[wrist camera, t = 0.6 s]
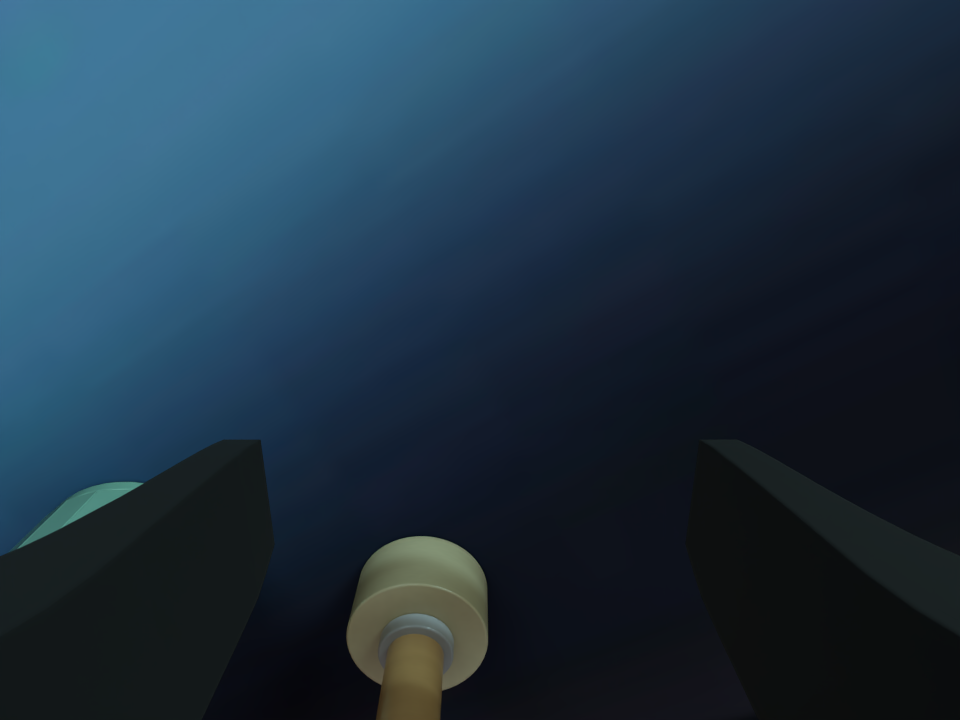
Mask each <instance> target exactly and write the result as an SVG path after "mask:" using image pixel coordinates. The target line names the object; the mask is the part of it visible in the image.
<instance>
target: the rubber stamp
mask: <svg viewBox="0 0 960 720" xmlns="http://www.w3.org/2000/svg"><path fill="white" fill-rule="evenodd" d="M346 638H347V645H348V649H349V652H350V654H351V657H352V659H353V660H354V662H355V664H356V665H357V666H358V667H359V669H360V670H361V671H362V672H363V673H364V674H365V675H367V676H368V677H369V678H371V679H372V680H373V681H375V682H377V683H379V684H380V685H382V686H381V692H380V698H379V704H378V710H377V716H376V720H440V712H441V697H442V690H445V689H449V688H451V687H453V686H456V685H458V684H459V683H461V682H463V681H464V680H466V679H467V678H468V677H470V676H471V675H472V674H473V673H474V672H475V671H476V670H477V668H478V667H479V666H480V664H481V662H482V661H483V659H484V657H485V654H486V651H487V646H488V607H487V582H486V578H485V575H484V572H483V571H482V569H481V567H480V565H479V564H478V562H477V561H476V560H475V559H474V558H473V557H472V556H471V554H469V553H468V552H467V551H466V550H464V549H463V548H461V547H460V546H458V545H456V544H454V543H452V542H449V541H446V540H443V539H440V538H435V537H427V536H415V537H407V538H403V539H399V540H396V541H393V542H391V543H389V544H387V545H385V546H383V547H382V548H380V549H379V550H378V551H377V552H375V553H374V554H373V555H372V556H371V557H370V558H369V560H368V561H367V562H366V564H365V565H364V567H363V569H362V572H361V575H360V579H359V583H358V587H357V591H356V595H355V599H354V603H353V607H352V611H351V615H350V619H349V623H348V627H347V635H346Z"/></svg>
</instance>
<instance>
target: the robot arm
mask: <svg viewBox="0 0 960 720" xmlns="http://www.w3.org/2000/svg"><path fill="white" fill-rule="evenodd" d="M273 548H274V536H273V529H272V521H271V514H270V507H269V499H268V492H267V484H266V477H265V470H264V462H263V455H262V448H261V440H222V441H220V442H217V443H215V444H213V445H211V446H209V447H207V448H205V449H203V450H201V451H199V452H197V453H196V454H194V455H192V456H190V457H188V458H187V459H185V460H183V461H181V462H180V463H178V464H176V465H175V466H173V467H171V468H169V469H168V470H166V471H164V472H162V473H161V474H159V475H157V476H156V477H154V478H152V479H150V480H149V481H147V482H145V483H143V484H142V485H140V486H138V487H136V488H135V489H133V490H131V491H130V492H128V493H126V494H124V495H122V496H121V497H119V498H117V499H115V500H113V501H111V502H109V503H108V504H106V505H104V506H102V507H100V508H98V509H96V510H94V511H92V512H91V513H89V514H87V515H85V516H83V517H81V518H79V519H77V520H76V521H74V522H72V523H70V524H68V525H66V526H64V527H62V528H60V529H58V530H56V531H54V532H52V533H50V534H48V535H46V536H44V537H42V538H40V539H38V540H36V541H33V542H31V543H29V544H27V545H25V546H23V547H20V548H18V549H16V550H14V551H11V552H9V553H7V554H5V555H2V556H0V720H202V718H203V716H204V714H205V712H206V710H207V707H208V705H209V703H210V701H211V699H212V697H213V695H214V692H215V690H216V688H217V686H218V684H219V682H220V680H221V678H222V675H223V673H224V671H225V669H226V667H227V665H228V663H229V660H230V658H231V656H232V654H233V652H234V650H235V648H236V646H237V643H238V641H239V639H240V637H241V635H242V633H243V630H244V628H245V626H246V624H247V622H248V620H249V617H250V615H251V613H252V611H253V608H254V606H255V604H256V602H257V599H258V597H259V594H260V591H261V588H262V585H263V581H264V578H265V575H266V572H267V568H268V565H269V562H270V558H271V555H272V551H273ZM686 548H687V551H688V555H689V558H690V562H691V565H692V568H693V572H694V575H695V578H696V581H697V585H698V588H699V591H700V594H701V597H702V599H703V602H704V604H705V606H706V608H707V611H708V613H709V615H710V617H711V620H712V622H713V624H714V626H715V628H716V630H717V633H718V635H719V637H720V639H721V641H722V643H723V646H724V648H725V650H726V652H727V654H728V656H729V658H730V661H731V663H732V665H733V667H734V669H735V671H736V673H737V675H738V678H739V680H740V682H741V684H742V686H743V688H744V690H745V692H746V695H747V697H748V699H749V701H750V703H751V705H752V707H753V710H754V712H755V714H756V716H757V718H758V720H960V556H959V555H956V554H954V553H952V552H949V551H947V550H945V549H942V548H940V547H938V546H936V545H934V544H931V543H929V542H927V541H925V540H923V539H921V538H919V537H916V536H914V535H912V534H910V533H908V532H906V531H904V530H902V529H900V528H898V527H897V526H895V525H893V524H891V523H889V522H887V521H885V520H883V519H881V518H879V517H877V516H875V515H873V514H871V513H869V512H867V511H865V510H864V509H862V508H860V507H858V506H856V505H854V504H852V503H851V502H849V501H847V500H845V499H843V498H842V497H840V496H838V495H836V494H834V493H833V492H831V491H829V490H827V489H826V488H824V487H822V486H820V485H819V484H817V483H815V482H813V481H812V480H810V479H808V478H807V477H805V476H803V475H801V474H800V473H798V472H796V471H794V470H793V469H791V468H789V467H788V466H786V465H784V464H782V463H781V462H779V461H777V460H775V459H774V458H772V457H770V456H768V455H767V454H765V453H763V452H761V451H759V450H757V449H756V448H754V447H752V446H750V445H748V444H746V443H743V442H741V441H739V440H699V447H698V455H697V462H696V470H695V477H694V484H693V492H692V499H691V507H690V514H689V521H688V529H687V536H686Z"/></svg>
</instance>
